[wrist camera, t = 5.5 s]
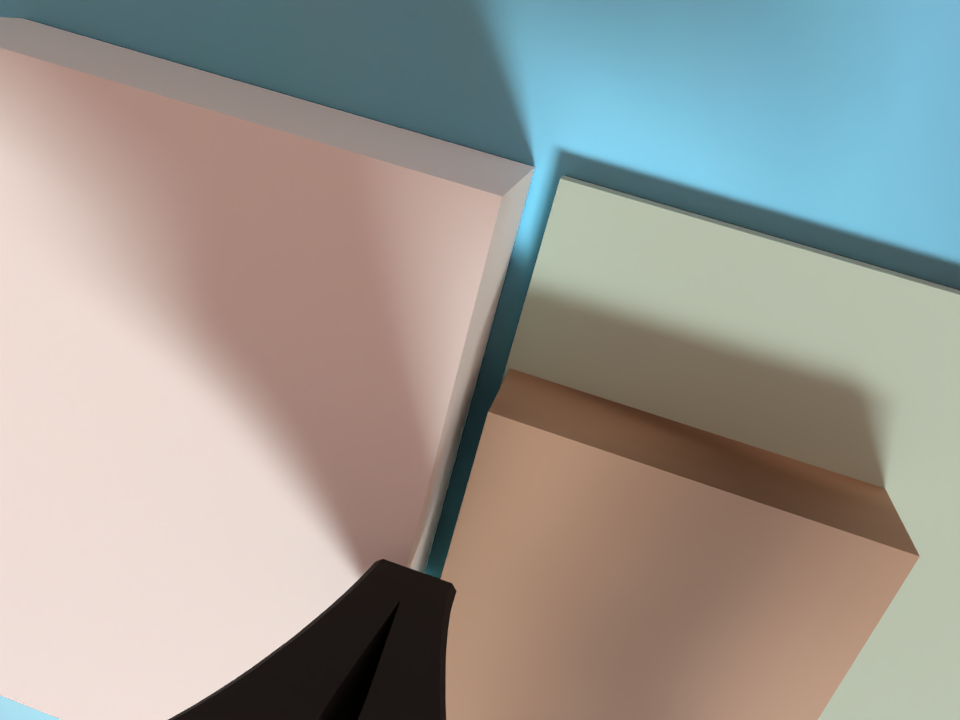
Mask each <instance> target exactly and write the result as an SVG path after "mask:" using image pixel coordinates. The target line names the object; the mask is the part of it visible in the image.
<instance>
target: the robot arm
mask: <svg viewBox="0 0 960 720" xmlns="http://www.w3.org/2000/svg"><path fill="white" fill-rule="evenodd" d="M456 592H457V591H456V589H455V587H454V586H453V584H452V583H450V582H447V581H444V580H442V579H439V578H436V577H433V576H430V575H427V574H425V573H422V572H419V571H416V570H413V569H410V568H408V567H405V566H402V565H399V564H396V563H393V562H391V561H388V560H385V559H381V560H378V561H376V562H374V564H373V565H372V566H371V567H370V568H369V569H368V570H367V571H366V572H365V573H364V574H363V575H362V576H361V577H360V578H359V579H358V580H357V581H356V582H355V583H354V584H353V585H352V586H351V587H350V588H349V589H348V590H347V591H346V592H345V593H344V594H343V595H342V596H341V597H339V598H338V599H337V600H336V601H335V602H334V603H333V604H332V605H331V606H329V607H328V608H327V609H326V610H325V611H324V612H322V613H321V614H320V615H319V616H318V617H316V618H315V619H314V620H313V621H312V622H310V623H309V624H308V625H307V626H306V627H304V628H303V629H302V630H301V631H300V632H298V633H297V634H296V635H295V636H293V637H292V638H291V639H290V640H288V641H287V642H286V643H284V644H283V645H282V646H280V647H279V648H277V649H276V650H275V651H273V652H272V653H271V654H269V655H268V656H267V657H265V658H264V659H263V660H261V661H260V662H259V663H257V664H256V665H254V666H253V667H252V668H250V669H249V670H247V671H246V672H244V673H243V674H242V675H240V676H239V677H237V678H236V679H234V680H233V681H231V682H230V683H228V684H227V685H225V686H223V687H222V688H220V689H219V690H217V691H216V692H214V693H212V694H211V695H209V696H208V697H206V698H204V699H203V700H201V701H199V702H198V703H196V704H195V705H193V706H191V707H189V708H188V709H186V710H184V711H182V712H181V713H179V714H177V715H175V716H173V717H172V718H170V719H168V720H446V648H447V636H448V627H449V619H450V613H451V608H452V605H453V602H454V598H455V595H456Z"/></svg>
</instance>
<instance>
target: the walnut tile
mask: <svg viewBox="0 0 960 720" xmlns="http://www.w3.org/2000/svg"><path fill="white" fill-rule="evenodd" d="M919 557H920V556H919V554H918V552H917V550H916V548H915V546H914V544H913V542H912V540H911V538H910V536H909V534H908V532H907V530H906V528H905V526H904V524H903V523H902V521H901V519H900V517H899V515H898V513H897V511H896V509H895V507H894V505H893V503H892V501H891V499H890V497H889V495H888V493H887V491H886V489H884V488H881V487H878V486H875V485H872V484H869V483H866V482H863V481H860V480H857V479H854V478H851V477H848V476H845V475H841V474H838V473H835V472H832V471H829V470H826V469H823V468H820V467H817V466H813V465H810V464H807V463H804V462H801V461H798V460H795V459H792V458H788V457H785V456H782V455H779V454H776V453H773V452H770V451H767V450H763V449H760V448H757V447H754V446H751V445H748V444H745V443H742V442H739V441H735V440H732V439H729V438H726V437H723V436H720V435H717V434H714V433H710V432H707V431H704V430H701V429H698V428H695V427H692V426H689V425H685V424H682V423H679V422H676V421H673V420H670V419H667V418H664V417H661V416H657V415H654V414H651V413H648V412H645V411H642V410H639V409H636V408H632V407H629V406H626V405H623V404H620V403H617V402H614V401H611V400H607V399H604V398H601V397H598V396H595V395H592V394H589V393H586V392H583V391H579V390H576V389H573V388H570V387H567V386H564V385H561V384H558V383H554V382H551V381H548V380H545V379H542V378H539V377H536V376H533V375H529V374H526V373H523V372H520V371H517V370H514V369H511V368H510V370H509V372H508V374H507V376H506V378H505V380H504V382H503V384H502V385H501V387H500V389H499V391H498V393H497V395H496V397H495V399H494V401H493V403H492V405H491V407H490V409H489V411H488V414H487V417H486V421H485V424H484V428H483V431H482V435H481V438H480V442H479V445H478V449H477V452H476V456H475V459H474V463H473V466H472V470H471V473H470V477H469V480H468V484H467V487H466V491H465V494H464V498H463V501H462V505H461V508H460V512H459V515H458V519H457V522H456V526H455V529H454V533H453V537H452V540H451V544H450V547H449V551H448V554H447V558H446V561H445V565H444V568H443V572H442V575H441V579H442V580H444V581H447V582H450V583H452V584H453V586H454V587H455V589H456V591H457V592H456V595H455V598H454V602H453V605H452V608H451V613H450V619H449V627H448V636H447V648H446V720H818V718H819V717H820V715H821V714H822V712H823V710H824V709H825V707H826V706H827V704H828V702H829V701H830V699H831V698H832V696H833V694H834V693H835V691H836V690H837V688H838V686H839V685H840V683H841V682H842V680H843V678H844V677H845V675H846V674H847V672H848V671H849V669H850V667H851V666H852V664H853V663H854V661H855V659H856V658H857V656H858V655H859V653H860V651H861V650H862V648H863V647H864V645H865V643H866V642H867V640H868V639H869V637H870V635H871V634H872V632H873V631H874V629H875V627H876V626H877V624H878V623H879V621H880V619H881V618H882V616H883V615H884V613H885V611H886V610H887V608H888V607H889V605H890V603H891V602H892V600H893V599H894V597H895V595H896V594H897V592H898V591H899V589H900V587H901V586H902V584H903V583H904V581H905V579H906V578H907V576H908V575H909V573H910V571H911V570H912V568H913V567H914V565H915V563H916V562H917V560H918V559H919Z"/></svg>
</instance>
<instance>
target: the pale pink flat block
mask: <svg viewBox="0 0 960 720" xmlns="http://www.w3.org/2000/svg"><path fill="white" fill-rule="evenodd" d="M534 169H535V167H533V166H530V165H526V164H523V163H519V162H516V161H512V160H509V159H505V158H502V157H499V156H495V155H492V154H488V153H485V152H481V151H478V150H474V149H471V148H468V147H464V146H461V145H457V144H454V143H450V142H447V141H443V140H440V139H437V138H433V137H430V136H426V135H423V134H419V133H416V132H412V131H409V130H406V129H402V128H399V127H395V126H392V125H388V124H385V123H381V122H378V121H375V120H371V119H368V118H364V117H361V116H357V115H354V114H351V113H347V112H344V111H340V110H337V109H333V108H330V107H326V106H323V105H320V104H316V103H313V102H309V101H306V100H302V99H299V98H295V97H292V96H289V95H285V94H282V93H278V92H275V91H271V90H268V89H264V88H261V87H258V86H254V85H251V84H247V83H244V82H240V81H237V80H233V79H230V78H227V77H223V76H220V75H216V74H213V73H209V72H206V71H202V70H199V69H196V68H192V67H189V66H185V65H182V64H178V63H175V62H171V61H168V60H165V59H161V58H158V57H154V56H151V55H147V54H144V53H140V52H137V51H134V50H130V49H127V48H123V47H120V46H116V45H113V44H109V43H106V42H103V41H99V40H96V39H92V38H89V37H85V36H82V35H78V34H75V33H72V32H68V31H65V30H61V29H58V28H54V27H51V26H47V25H44V24H41V23H37V22H34V21H30V20H27V19H23V18H8V17H0V695H1V696H3V697H6V698H8V699H11V700H14V701H16V702H19V703H21V704H24V705H26V706H29V707H31V708H34V709H36V710H39V711H41V712H44V713H46V714H49V715H51V716H54V717H56V718H59V719H61V720H168V719H170V718H172V717H173V716H175V715H177V714H179V713H181V712H182V711H184V710H186V709H188V708H189V707H191V706H193V705H195V704H196V703H198V702H199V701H201V700H203V699H204V698H206V697H208V696H209V695H211V694H212V693H214V692H216V691H217V690H219V689H220V688H222V687H223V686H225V685H227V684H228V683H230V682H231V681H233V680H234V679H236V678H237V677H239V676H240V675H242V674H243V673H244V672H246V671H247V670H249V669H250V668H252V667H253V666H254V665H256V664H257V663H259V662H260V661H261V660H263V659H264V658H265V657H267V656H268V655H269V654H271V653H272V652H273V651H275V650H276V649H277V648H279V647H280V646H282V645H283V644H284V643H286V642H287V641H288V640H290V639H291V638H292V637H293V636H295V635H296V634H297V633H298V632H300V631H301V630H302V629H303V628H304V627H306V626H307V625H308V624H309V623H310V622H312V621H313V620H314V619H315V618H316V617H318V616H319V615H320V614H321V613H322V612H324V611H325V610H326V609H327V608H328V607H329V606H331V605H332V604H333V603H334V602H335V601H336V600H337V599H338V598H339V597H341V596H342V595H343V594H344V593H345V592H346V591H347V590H348V589H349V588H350V587H351V586H352V585H353V584H354V583H355V582H356V581H357V580H358V579H359V578H360V577H361V576H362V575H363V574H364V573H365V572H366V571H367V570H368V569H369V568H370V567H371V566H372V565H373V564H374V562H376V561H378V560H381V559H385V560H388V561H391V562H393V563H396V564H399V565H402V566H405V567H408V568H410V569H413V570H416V571H419V572H422V573H425V570H426V567H427V563H428V559H429V556H430V552H431V548H432V544H433V541H434V537H435V533H436V530H437V526H438V522H439V519H440V515H441V511H442V508H443V504H444V500H445V497H446V493H447V489H448V486H449V482H450V478H451V475H452V471H453V467H454V463H455V460H456V456H457V452H458V449H459V445H460V441H461V438H462V434H463V430H464V427H465V423H466V419H467V416H468V412H469V408H470V405H471V401H472V397H473V394H474V390H475V386H476V383H477V379H478V375H479V371H480V368H481V364H482V360H483V357H484V353H485V349H486V346H487V342H488V338H489V335H490V331H491V327H492V324H493V320H494V316H495V313H496V309H497V305H498V302H499V298H500V294H501V291H502V287H503V283H504V279H505V276H506V272H507V268H508V265H509V261H510V257H511V254H512V250H513V246H514V243H515V239H516V235H517V232H518V228H519V224H520V221H521V217H522V213H523V210H524V206H525V202H526V198H527V195H528V191H529V187H530V184H531V180H532V176H533V173H534Z"/></svg>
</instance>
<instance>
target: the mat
mask: <svg viewBox="0 0 960 720" xmlns="http://www.w3.org/2000/svg"><path fill="white" fill-rule="evenodd" d="M510 368H511V369H514V370H517V371H520V372H523V373H526V374H529V375H533V376H536V377H539V378H542V379H545V380H548V381H551V382H554V383H558V384H561V385H564V386H567V387H570V388H573V389H576V390H579V391H583V392H586V393H589V394H592V395H595V396H598V397H601V398H604V399H607V400H611V401H614V402H617V403H620V404H623V405H626V406H629V407H632V408H636V409H639V410H642V411H645V412H648V413H651V414H654V415H657V416H661V417H664V418H667V419H670V420H673V421H676V422H679V423H682V424H685V425H689V426H692V427H695V428H698V429H701V430H704V431H707V432H710V433H714V434H717V435H720V436H723V437H726V438H729V439H732V440H735V441H739V442H742V443H745V444H748V445H751V446H754V447H757V448H760V449H763V450H767V451H770V452H773V453H776V454H779V455H782V456H785V457H788V458H792V459H795V460H798V461H801V462H804V463H807V464H810V465H813V466H817V467H820V468H823V469H826V470H829V471H832V472H835V473H838V474H841V475H845V476H848V477H851V478H854V479H857V480H860V481H863V482H866V483H869V484H872V485H875V486H878V487H881V488H884V489H886V491H887V493H888V495H889V497H890V499H891V501H892V503H893V505H894V507H895V509H896V511H897V513H898V515H899V517H900V519H901V521H902V523H903V524H904V526H905V528H906V530H907V532H908V534H909V536H910V538H911V540H912V542H913V544H914V546H915V548H916V550H917V552H918V554H919V556H920V557H919V559H918V560H917V562H916V563H915V565H914V567H913V568H912V570H911V571H910V573H909V575H908V576H907V578H906V579H905V581H904V583H903V584H902V586H901V587H900V589H899V591H898V592H897V594H896V595H895V597H894V599H893V600H892V602H891V603H890V605H889V607H888V608H887V610H886V611H885V613H884V615H883V616H882V618H881V619H880V621H879V623H878V624H877V626H876V627H875V629H874V631H873V632H872V634H871V635H870V637H869V639H868V640H867V642H866V643H865V645H864V647H863V648H862V650H861V651H860V653H859V655H858V656H857V658H856V659H855V661H854V663H853V664H852V666H851V667H850V669H849V671H848V672H847V674H846V675H845V677H844V678H843V680H842V682H841V683H840V685H839V686H838V688H837V690H836V691H835V693H834V694H833V696H832V698H831V699H830V701H829V702H828V704H827V706H826V707H825V709H824V710H823V712H822V714H821V715H820V717H819V718H818V720H960V290H957V289H953V288H950V287H946V286H943V285H939V284H936V283H932V282H929V281H926V280H922V279H919V278H915V277H912V276H908V275H905V274H901V273H898V272H895V271H891V270H888V269H884V268H881V267H877V266H874V265H870V264H867V263H864V262H860V261H857V260H853V259H850V258H846V257H843V256H839V255H836V254H833V253H829V252H826V251H822V250H819V249H815V248H812V247H808V246H805V245H802V244H798V243H795V242H791V241H788V240H784V239H781V238H777V237H774V236H771V235H767V234H764V233H760V232H757V231H753V230H750V229H746V228H743V227H740V226H736V225H733V224H729V223H726V222H722V221H719V220H715V219H712V218H709V217H705V216H702V215H698V214H695V213H691V212H688V211H685V210H681V209H678V208H674V207H671V206H667V205H664V204H660V203H657V202H654V201H650V200H647V199H643V198H640V197H636V196H633V195H629V194H626V193H623V192H619V191H616V190H612V189H609V188H605V187H602V186H598V185H595V184H592V183H588V182H585V181H581V180H578V179H574V178H571V177H567V176H564V175H562V177H561V178H560V180H559V184H558V187H557V191H556V194H555V198H554V201H553V205H552V208H551V212H550V215H549V219H548V222H547V226H546V229H545V233H544V236H543V239H542V243H541V246H540V250H539V253H538V257H537V260H536V264H535V267H534V271H533V274H532V278H531V281H530V285H529V288H528V292H527V295H526V299H525V302H524V306H523V309H522V312H521V316H520V319H519V323H518V326H517V330H516V333H515V337H514V340H513V344H512V347H511V351H510V354H509V358H508V361H507V365H506V368H505V372H504V375H503V379H502V382H501V385H502V384H503V382H504V380H505V378H506V376H507V374H508V372H509V370H510ZM501 385H500V387H501Z"/></svg>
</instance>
